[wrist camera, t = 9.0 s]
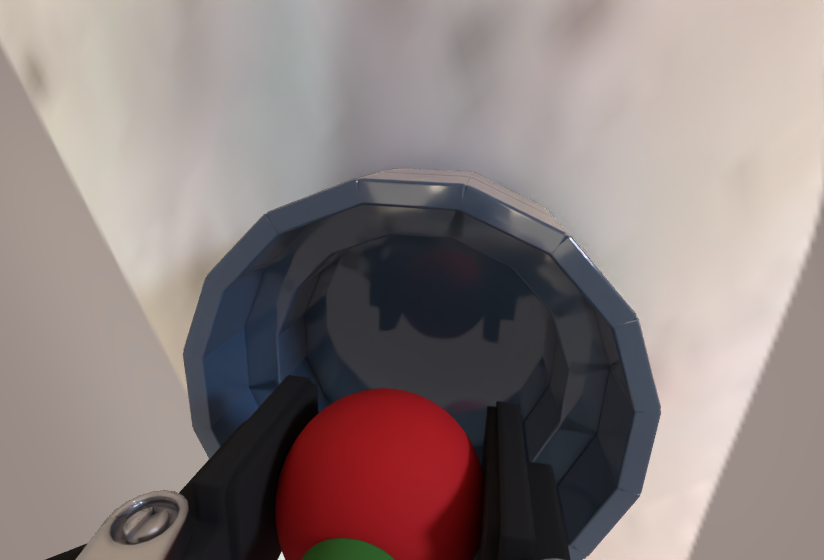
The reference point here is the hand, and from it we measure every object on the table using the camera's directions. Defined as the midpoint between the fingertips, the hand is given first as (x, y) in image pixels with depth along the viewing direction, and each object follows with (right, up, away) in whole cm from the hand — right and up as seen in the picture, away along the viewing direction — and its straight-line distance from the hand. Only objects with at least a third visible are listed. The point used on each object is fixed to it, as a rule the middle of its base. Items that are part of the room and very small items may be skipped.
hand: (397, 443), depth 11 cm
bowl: (+1, +2, +5) cm, 6 cm away
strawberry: (0, 0, +1) cm, 1 cm away
